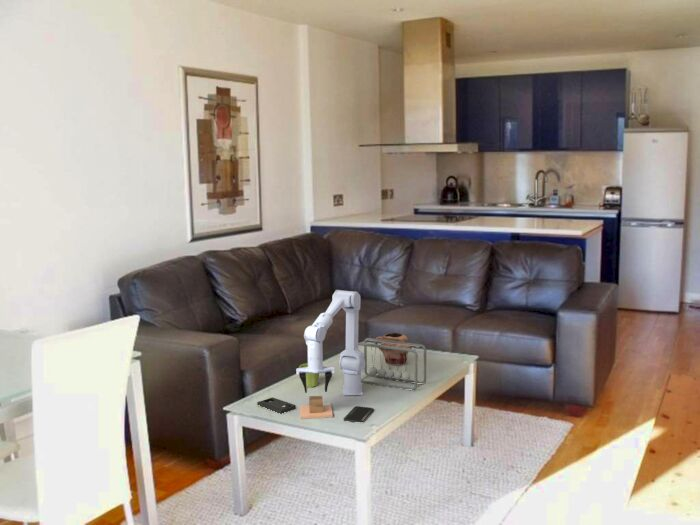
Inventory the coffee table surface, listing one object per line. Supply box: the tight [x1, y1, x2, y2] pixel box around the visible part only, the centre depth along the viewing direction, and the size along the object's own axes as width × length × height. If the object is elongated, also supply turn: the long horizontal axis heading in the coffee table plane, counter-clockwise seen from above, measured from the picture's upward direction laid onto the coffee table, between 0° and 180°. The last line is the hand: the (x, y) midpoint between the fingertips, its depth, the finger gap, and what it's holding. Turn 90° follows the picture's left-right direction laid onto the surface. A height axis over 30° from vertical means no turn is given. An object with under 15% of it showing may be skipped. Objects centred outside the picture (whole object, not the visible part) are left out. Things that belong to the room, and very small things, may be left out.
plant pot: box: [298, 362, 320, 388], centre depth 312 cm, size 9×9×9 cm
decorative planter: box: [374, 332, 413, 366], centre depth 344 cm, size 20×12×14 cm, turn 62°
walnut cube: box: [308, 395, 324, 413], centre depth 278 cm, size 5×5×5 cm
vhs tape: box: [256, 396, 297, 415], centre depth 285 cm, size 14×8×2 cm, turn 46°
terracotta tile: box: [300, 404, 334, 420], centre depth 279 cm, size 12×12×1 cm
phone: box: [343, 405, 375, 423], centre depth 275 cm, size 8×1×15 cm
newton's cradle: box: [358, 337, 427, 391], centre depth 313 cm, size 30×10×18 cm, turn 61°
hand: (315, 391), depth 278 cm, fingers open, 7 cm apart
